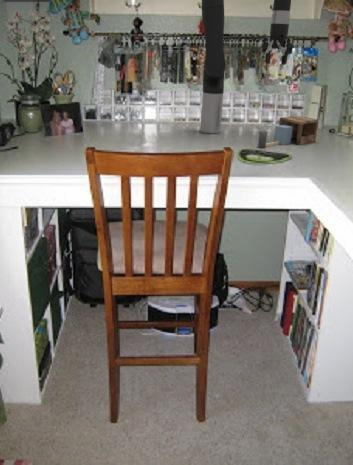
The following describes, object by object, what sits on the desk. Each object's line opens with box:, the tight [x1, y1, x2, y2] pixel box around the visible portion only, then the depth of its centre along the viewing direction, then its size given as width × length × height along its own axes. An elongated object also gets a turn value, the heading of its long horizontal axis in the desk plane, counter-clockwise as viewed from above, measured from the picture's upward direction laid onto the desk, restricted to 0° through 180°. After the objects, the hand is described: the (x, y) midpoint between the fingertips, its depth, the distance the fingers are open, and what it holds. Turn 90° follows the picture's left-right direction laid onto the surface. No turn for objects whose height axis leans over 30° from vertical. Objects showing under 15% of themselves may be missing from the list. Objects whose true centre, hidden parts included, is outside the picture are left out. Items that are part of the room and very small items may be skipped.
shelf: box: [278, 115, 319, 146], centre depth 201 cm, size 12×11×10 cm
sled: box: [257, 124, 293, 149], centre depth 193 cm, size 18×5×7 cm, turn 132°
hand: (275, 64), depth 203 cm, fingers open, 8 cm apart
